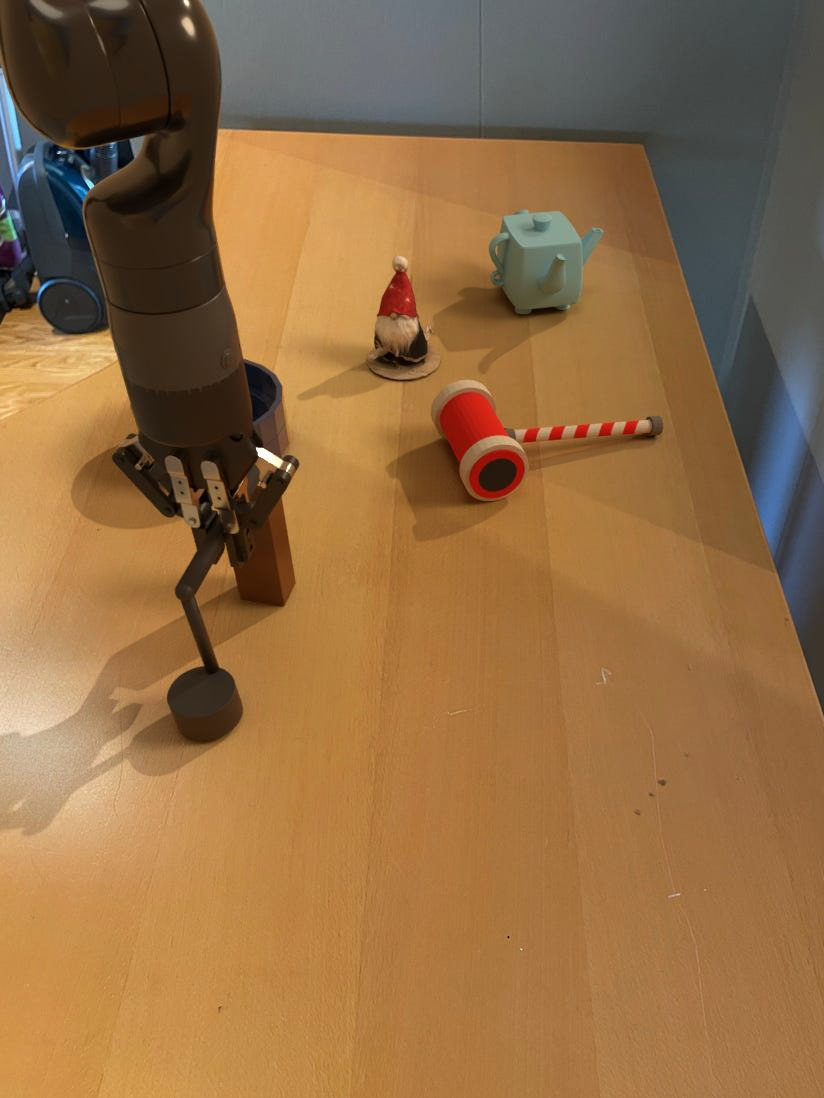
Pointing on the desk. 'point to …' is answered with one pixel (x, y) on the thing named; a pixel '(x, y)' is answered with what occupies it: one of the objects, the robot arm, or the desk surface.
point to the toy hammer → (504, 438)
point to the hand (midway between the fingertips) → (228, 558)
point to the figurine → (401, 332)
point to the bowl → (266, 407)
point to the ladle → (205, 652)
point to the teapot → (541, 260)
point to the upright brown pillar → (268, 561)
